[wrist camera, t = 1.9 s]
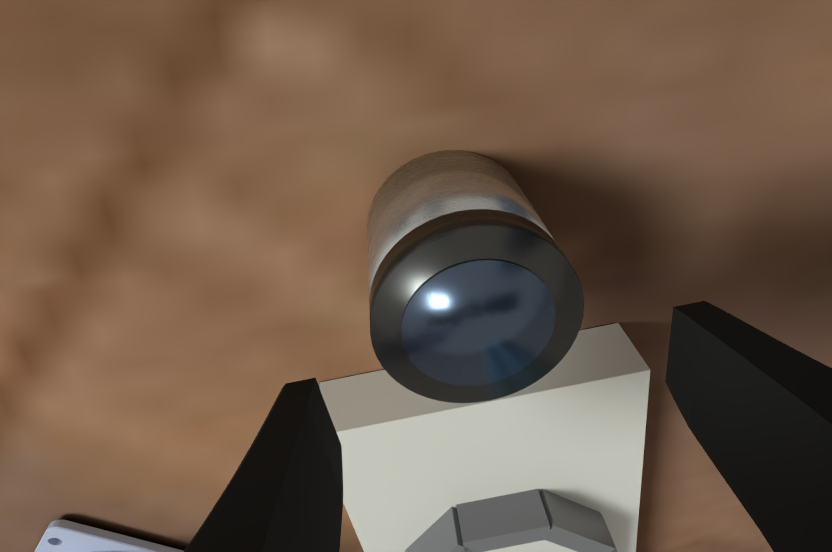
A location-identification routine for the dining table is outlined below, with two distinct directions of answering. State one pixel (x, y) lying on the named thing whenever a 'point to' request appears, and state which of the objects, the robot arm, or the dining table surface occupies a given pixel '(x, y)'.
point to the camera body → (499, 458)
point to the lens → (466, 281)
